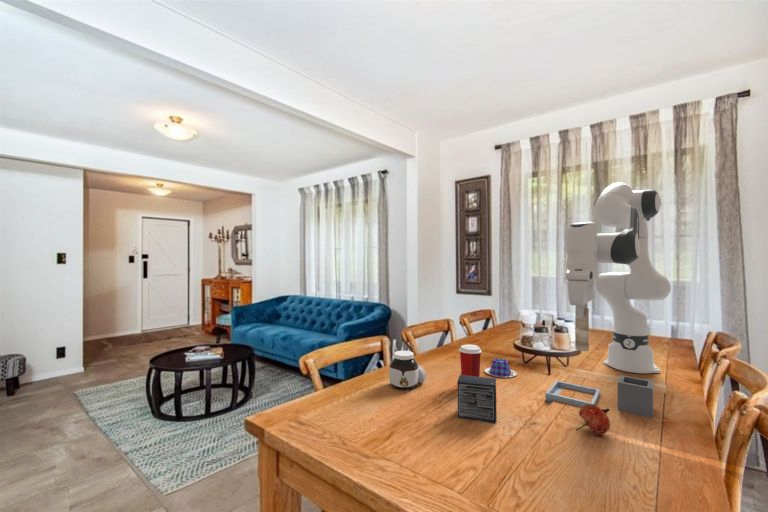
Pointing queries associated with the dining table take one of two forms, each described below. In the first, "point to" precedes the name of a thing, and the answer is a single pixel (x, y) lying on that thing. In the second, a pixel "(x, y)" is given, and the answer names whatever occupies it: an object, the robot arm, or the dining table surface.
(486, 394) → the small box
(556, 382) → the slate tray
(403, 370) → the spread jar
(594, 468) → the dining table surface
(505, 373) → the pudding
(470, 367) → the paper cup
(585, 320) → the maple dowel
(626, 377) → the grey open-top box
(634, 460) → the dining table surface
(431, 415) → the dining table surface
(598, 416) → the pomegranate
